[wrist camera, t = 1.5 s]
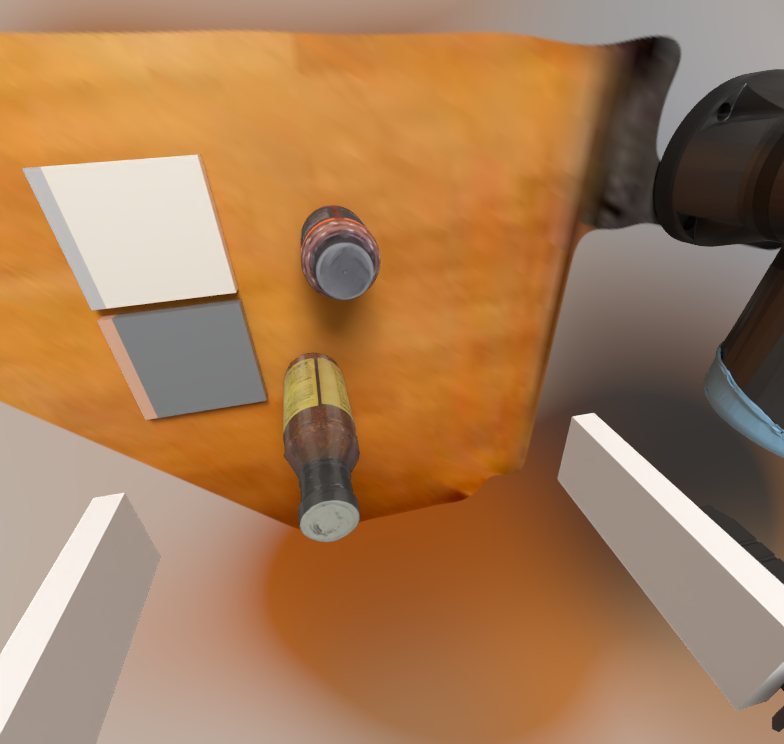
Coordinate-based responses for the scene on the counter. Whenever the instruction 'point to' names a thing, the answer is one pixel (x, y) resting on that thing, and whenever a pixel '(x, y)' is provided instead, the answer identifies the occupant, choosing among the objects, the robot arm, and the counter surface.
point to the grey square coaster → (186, 357)
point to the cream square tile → (136, 229)
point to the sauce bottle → (321, 446)
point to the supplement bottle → (338, 253)
